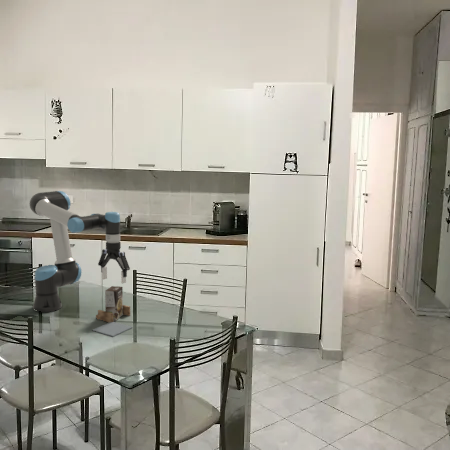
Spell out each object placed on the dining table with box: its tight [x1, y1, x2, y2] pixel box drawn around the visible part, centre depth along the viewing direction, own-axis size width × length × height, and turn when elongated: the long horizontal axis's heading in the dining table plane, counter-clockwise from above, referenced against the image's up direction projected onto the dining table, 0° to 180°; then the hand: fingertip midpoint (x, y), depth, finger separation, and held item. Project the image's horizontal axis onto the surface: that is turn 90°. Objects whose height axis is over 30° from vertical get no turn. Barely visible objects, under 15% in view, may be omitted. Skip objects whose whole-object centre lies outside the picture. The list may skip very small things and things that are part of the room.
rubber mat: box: [92, 321, 134, 338], centre depth 256 cm, size 14×14×1 cm
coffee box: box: [104, 285, 124, 322], centre depth 271 cm, size 9×6×16 cm
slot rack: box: [95, 304, 131, 323], centre depth 272 cm, size 12×14×5 cm
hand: (114, 280), depth 269 cm, fingers open, 13 cm apart
